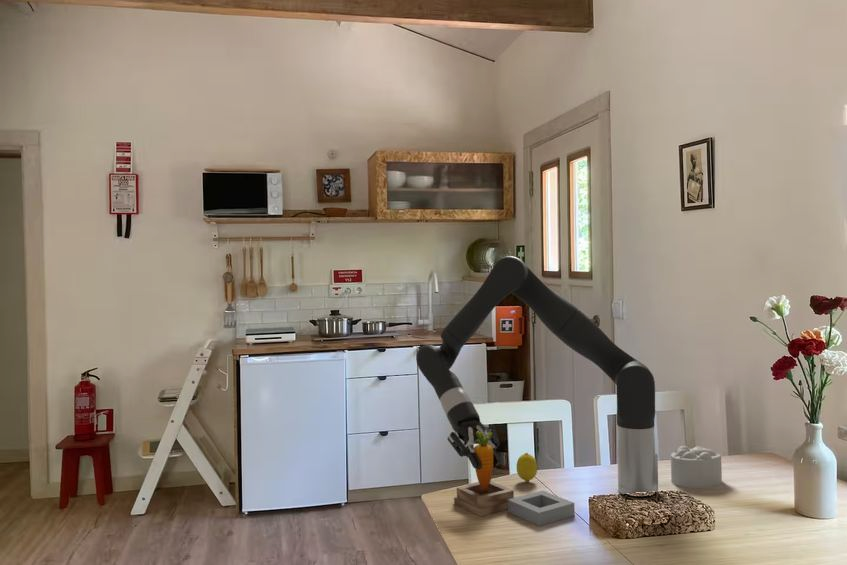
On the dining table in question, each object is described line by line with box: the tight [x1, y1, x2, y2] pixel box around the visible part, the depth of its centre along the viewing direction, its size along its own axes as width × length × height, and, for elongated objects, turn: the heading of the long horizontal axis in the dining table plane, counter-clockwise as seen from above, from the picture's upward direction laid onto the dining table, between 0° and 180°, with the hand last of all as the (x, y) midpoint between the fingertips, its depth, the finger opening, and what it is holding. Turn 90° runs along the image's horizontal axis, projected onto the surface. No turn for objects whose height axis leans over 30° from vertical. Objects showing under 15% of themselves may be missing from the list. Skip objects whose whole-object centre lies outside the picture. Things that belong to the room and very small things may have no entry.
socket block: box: [507, 490, 576, 527], centre depth 159 cm, size 11×11×3 cm
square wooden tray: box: [453, 480, 515, 517], centre depth 166 cm, size 11×11×4 cm
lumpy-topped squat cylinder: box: [670, 445, 723, 489], centre depth 180 cm, size 10×13×9 cm
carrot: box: [474, 431, 494, 491], centre depth 166 cm, size 5×5×15 cm
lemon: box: [516, 452, 538, 483], centre depth 183 cm, size 6×6×8 cm
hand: (488, 465), depth 164 cm, fingers closed on carrot, 5 cm apart
